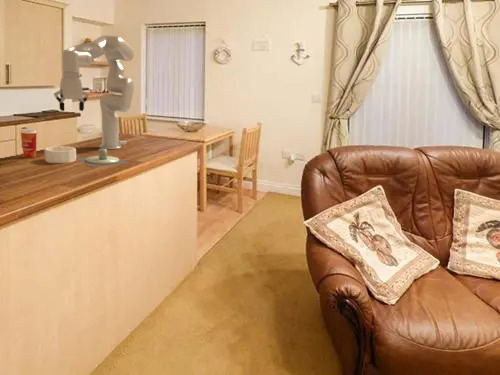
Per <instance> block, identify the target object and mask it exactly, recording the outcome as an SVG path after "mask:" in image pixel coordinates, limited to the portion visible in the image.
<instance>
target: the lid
mask: <svg viewBox="0 0 500 375" xmlns="http://www.w3.org/2000/svg"><path fill="white" fill-rule="evenodd" d="M112 156H113V155H108V149H103V148H99V149H98V155H94V156H93V155H92V156H88V157H85V158H86V161H87V162H88V163H93V164H114V163H118V162H119V159H120V158H119V157H117V158H116V156H115V157H112Z"/></svg>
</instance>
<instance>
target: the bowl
mask: <svg viewBox="0 0 500 375" xmlns="http://www.w3.org/2000/svg"><path fill="white" fill-rule="evenodd" d="M43 150H44V151H43V152H44V159H45V160H44V161H45V162H46V163H49V164H57V163H58V164H64V163H66V164H67V163H72V162H73V163H74V162H75V161H76V160H77V159H76V158H77V148H75V147H72V146H63V145H61V146H59V145H58V146H57V145H56V146H47V147H45V148H44V149H43Z"/></svg>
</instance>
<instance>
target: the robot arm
mask: <svg viewBox="0 0 500 375" xmlns="http://www.w3.org/2000/svg"><path fill="white" fill-rule="evenodd" d="M103 55H104V56H105V58H106V60H107V63H108V73H107V79H106V83H105V84H106V85H105V88H106V91H108V92H110V93H105V94H102V95H101V96H100V99H99V105H100V109H101V110H100V112H101V137H102V138H101V144H99V149H107V150H119V149H121V148H122V145H127V140H120V139H119V138H120V135H119V134H120V132H119V131H120V129H119V127H120V126H119V125H120V123H119V122H120V121H119V118H120V117H119V116H118V114H117V112H120V113H121V112H122V113H126V112H128V111H129V110H130V108H131V105H132V100H133V96H134V89H135V84H134V81H133V79H131V78H129V77H124V74H125V68H124V66H123V65H122V63H121V62H122V61H123V62H130V61H132V60H133V58H134V56H135V53H134V50H133V48H132V46H131V45H130V44H129V43H128V42H127V41H126V40H124V39H123V38H122V37H121V36H119V35H108V34H107V35H106V34H105V35H101V36H99V37H97V38H96V39H94V40H91V41H89V42H85V43H82V44H81V43H80V44H77V45H73V46H71V47H69V48H66V49H63V50H62V78H61V79H60V84H59V90H58V91H55V92H54V93H53V96H54V98H55V99H56V101H58V103H59V109H60V110H59V111H61V112H64V111H65V103H64V102H65V100H78V101H79V103H78V106H79V108H78V110H79V111H81V112H83V111H84V109H85V102H86V101H87V100H88V98H89V96H90V95H89V94H88V93H87V92H85V91H83V85H82V79H81V78H82V76H83V75H82V74H81V73H80V67H90V66H91V65H92V64H93V59H97V58H101V57H102V56H103ZM111 93H113V94H111ZM83 96H84V97H83Z"/></svg>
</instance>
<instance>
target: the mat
mask: <svg viewBox="0 0 500 375" xmlns="http://www.w3.org/2000/svg"><path fill="white" fill-rule="evenodd" d="M111 156H112V157H116V156H115V155H111ZM86 158H87V157H76V160H79V161H80V162H81V163H83V164H85V165H87V166H89V167H91V168H92V167H103V166H105V167H106V166H114V165H117V166H118V165H129V164H130V163H129V162H127V161H125V160H124V159H121V158H119V162H118V163H114V164H93V163H88V162H87V161H86ZM116 158H118V157H116Z"/></svg>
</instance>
